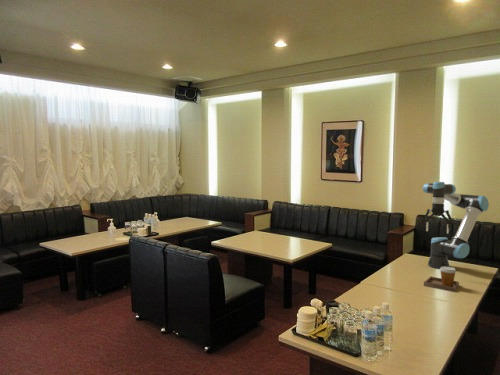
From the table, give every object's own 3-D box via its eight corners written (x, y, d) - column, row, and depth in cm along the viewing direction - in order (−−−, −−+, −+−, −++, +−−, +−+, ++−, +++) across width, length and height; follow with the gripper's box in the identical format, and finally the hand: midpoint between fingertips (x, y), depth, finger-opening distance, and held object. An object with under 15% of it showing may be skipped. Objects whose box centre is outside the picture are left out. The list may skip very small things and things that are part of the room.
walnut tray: (430, 279, 252) (430, 276, 252) (458, 285, 240) (459, 281, 240) (423, 285, 240) (423, 282, 240) (453, 291, 228) (454, 288, 228)
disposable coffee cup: (451, 283, 242) (452, 266, 242) (458, 288, 233) (458, 270, 232) (436, 283, 243) (437, 265, 243) (443, 287, 234) (443, 270, 233)
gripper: (418, 202, 262) (417, 230, 264) (456, 204, 246) (455, 235, 248) (421, 201, 268) (420, 229, 269) (458, 203, 252) (457, 233, 253)
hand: (437, 232), depth 259 cm, fingers open, 13 cm apart
